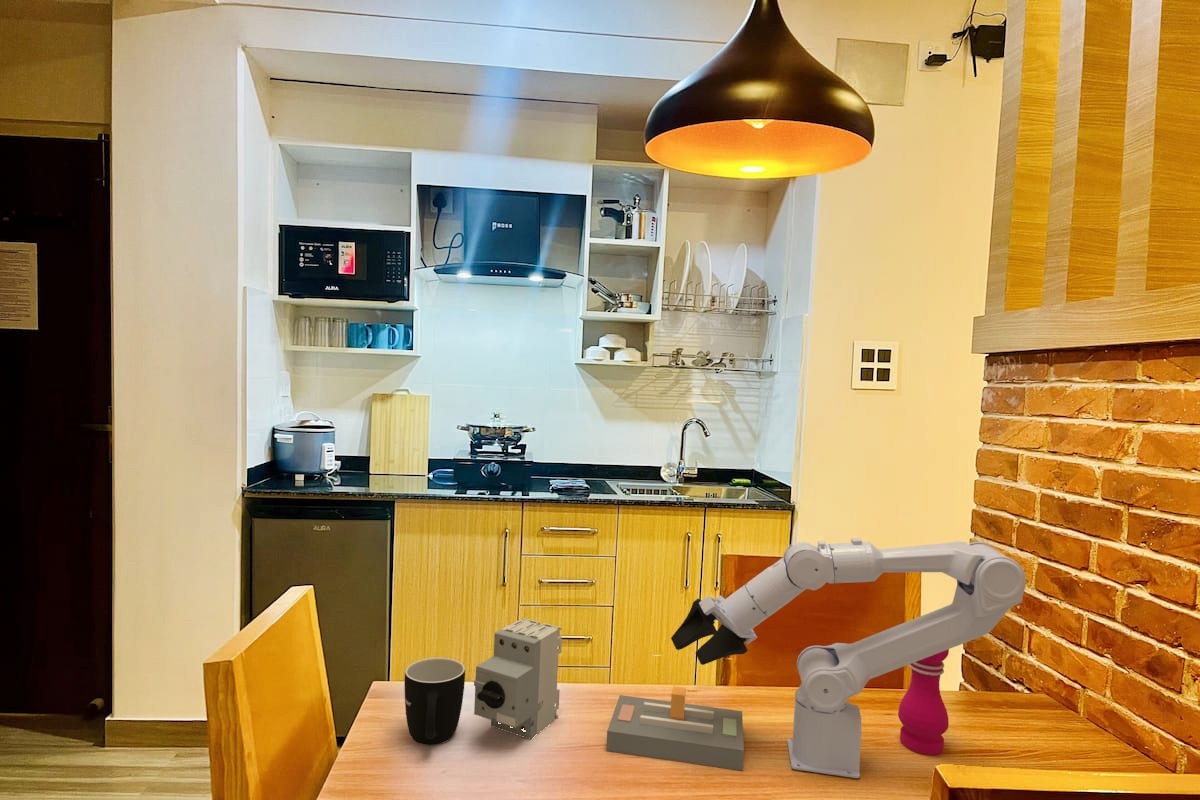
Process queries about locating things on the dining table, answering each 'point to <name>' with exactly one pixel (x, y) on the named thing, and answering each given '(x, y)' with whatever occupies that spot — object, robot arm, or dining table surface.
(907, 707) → the pepper mill
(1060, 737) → the dining table surface
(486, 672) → the circuit breaker
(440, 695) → the mug
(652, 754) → the slider control box
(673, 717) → the breaker lever
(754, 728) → the dining table surface
